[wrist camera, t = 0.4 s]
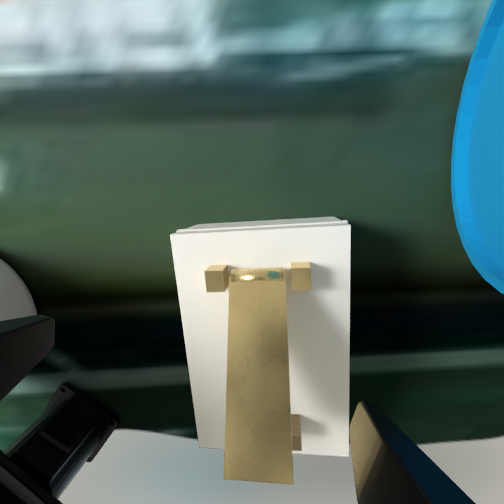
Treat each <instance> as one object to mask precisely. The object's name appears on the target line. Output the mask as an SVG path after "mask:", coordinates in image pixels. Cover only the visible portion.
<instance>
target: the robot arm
mask: <svg viewBox="0 0 504 504" xmlns="http://www.w3.org/2000/svg"><path fill="white" fill-rule="evenodd" d="M54 333H55V321H54V319H53V318H51V317H47V316H44V315H33V316H27V317H21V318H15V319H9V320H4V321H0V401H1V400H2V399H3V398H4V397H5V396H6V395H7V394H8V393H9V392H10V391H11V390H12V389H13V388H14V387H15V386H16V385H17V384H18V383H19V382H20V381H21V380H22V379H23V378H24V377H25V376H26V375H27V374H28V373H29V372H30V371H31V370H32V369H33V368H34V367H35V366H36V365H37V364H38V363H39V362H40V361H41V360H42V359H43V358H44V357H45V356H46V355H47V354H48V353H49V351H50V350H51V349H52V347H53V344H54ZM119 422H120V420H119V418H118V417H117V416H116V415H114V414H113V413H111V412H110V411H108V410H107V409H105V408H104V407H102V406H101V405H100V404H98V403H97V402H95V401H94V400H92V399H91V398H89V397H88V396H86V395H85V394H83V393H82V392H80V391H79V390H78V389H76V388H75V387H73V386H72V385H70V384H69V383H67V382H64V383H62V384H61V385H60V386H59V387H58V389H57V390H56V392H55V394H54V395H53V397H52V399H51V401H50V402H49V404H48V406H47V407H46V409H45V411H44V413H43V414H42V416H41V417H40V418H39V419H38V420H37V421H35V422H34V423H33V424H32V425H31V426H30V427H29V428H28V429H27V430H26V431H25V432H23V433H22V434H21V435H20V436H19V437H18V438H17V439H16V440H15V441H14V442H13V443H11V444H10V445H9V446H8V447H7V448H6V449H5V450H4V451H3V452H2V451H1V450H0V504H62V503H61V502H60V501H59V500H58V498H59V497H60V495H61V494H62V493H63V491H64V490H65V489H66V488H67V486H68V485H69V484H70V482H71V481H72V479H73V478H74V477H75V475H76V474H77V473H78V471H79V470H80V469H81V467H82V466H83V465H84V463H85V462H86V461H87V462H91V461H92V460H93V459H94V457H95V456H96V455H97V453H98V452H99V450H100V449H101V448H102V446H103V445H104V443H105V442H106V441H107V439H108V438H109V436H110V435H111V434H112V432H113V431H114V429H115V428H116V427H117V425H118V424H119ZM349 436H350V445H351V453H352V461H353V469H354V478H355V486H356V494H357V501H358V504H475V503H474V502H473V501H472V500H471V499H470V498H469V497H468V496H467V495H466V494H465V493H464V492H463V491H462V490H461V489H460V488H459V487H458V486H457V485H456V484H455V483H454V482H453V481H452V480H451V479H450V478H449V477H448V476H447V475H446V474H445V473H444V472H443V471H442V470H441V469H440V468H439V467H438V466H437V465H436V464H435V463H434V462H433V461H432V460H431V459H430V458H429V457H428V456H427V455H426V454H425V453H424V452H423V451H422V450H421V449H420V448H419V447H418V446H417V445H416V444H415V443H414V442H413V441H412V440H411V439H410V438H409V437H408V436H407V435H406V434H405V433H404V432H403V431H402V430H401V429H400V428H399V427H398V426H397V425H396V424H395V423H394V422H393V421H392V420H390V419H389V418H388V417H387V416H386V415H385V414H384V413H383V412H382V411H381V410H380V409H379V408H378V407H377V406H376V405H374V404H371V403H367V402H363V401H361V402H359V403H358V405H357V407H356V410H355V413H354V416H353V418H352V421H351V424H350V428H349Z"/></svg>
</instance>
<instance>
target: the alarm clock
mask: <svg viewBox="0 0 504 504" xmlns="http://www.w3.org/2000/svg"><path fill="white" fill-rule="evenodd" d="M451 191H452V202H453V210H454V215H455V220H456V225H457V229H458V232H459V235H460V238H461V241H462V244H463V247H464V249H465V251H466V253H467V254H468V256H469V258H470V260H471V262H472V264H473V265H474V267H475V268H476V269H477V270H478V272H479V273H480V274H481V276H482V277H483V278H484V279H485V280H486V281H487V282H488V283H490V284H491V285H492V286H493V287H494V288H496V289H497V290H498V291H499V292H501V293H502V294H504V0H493V1H492V3H491V6H490V8H489V10H488V13H487V15H486V18H485V20H484V23H483V25H482V28H481V31H480V34H479V37H478V40H477V42H476V45H475V48H474V51H473V54H472V57H471V60H470V64H469V67H468V71H467V74H466V78H465V81H464V85H463V89H462V93H461V98H460V103H459V107H458V112H457V117H456V124H455V130H454V137H453V147H452V159H451Z"/></svg>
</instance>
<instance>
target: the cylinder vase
mask: <svg viewBox="0 0 504 504" xmlns="http://www.w3.org/2000/svg"><path fill="white" fill-rule="evenodd" d="M33 315H37V311H36V307H35V304H34V301H33V298H32V296H31V294H30V292H29V290H28V288H27V287H26V285H25V283H24V282H23V281H22V279H21V278H20V277H19V275H18V274H17V273H16V272H15V271H14V270H13V269H12V268H11V267H10V266H9V265H8V264H7V263H6V262H4V261H3V260H2V259H0V321H4V320H9V319H15V318H21V317H27V316H33Z"/></svg>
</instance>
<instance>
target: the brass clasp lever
mask: <svg viewBox="0 0 504 504" xmlns="http://www.w3.org/2000/svg"><path fill="white" fill-rule="evenodd" d="M224 479H230V480H243V481H256V482H269V483H281V484H293V459H292V430H291V403H290V376H289V349H288V322H287V295H286V275H284V268H283V267H282V268H252V269H232V271H231V277H229V309H228V345H227V381H226V418H225V454H224Z"/></svg>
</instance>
